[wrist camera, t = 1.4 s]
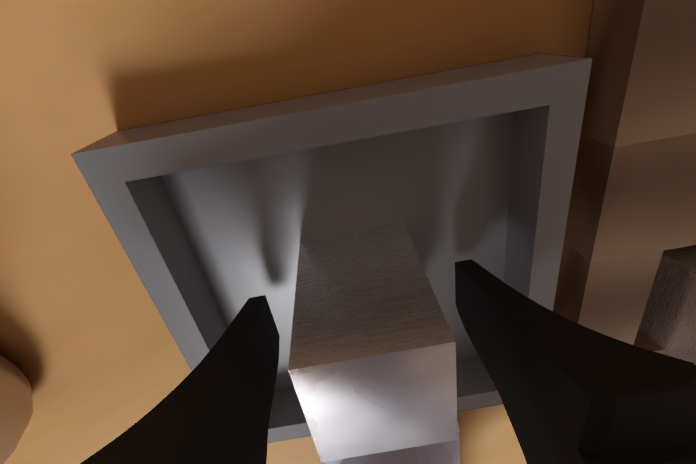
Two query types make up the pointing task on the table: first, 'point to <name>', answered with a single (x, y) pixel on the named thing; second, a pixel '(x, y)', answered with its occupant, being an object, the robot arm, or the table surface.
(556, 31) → the table surface
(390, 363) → the block
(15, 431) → the plastic bottle
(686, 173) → the wooden board with recesses
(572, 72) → the tray
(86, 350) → the table surface
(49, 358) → the table surface
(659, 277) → the block
